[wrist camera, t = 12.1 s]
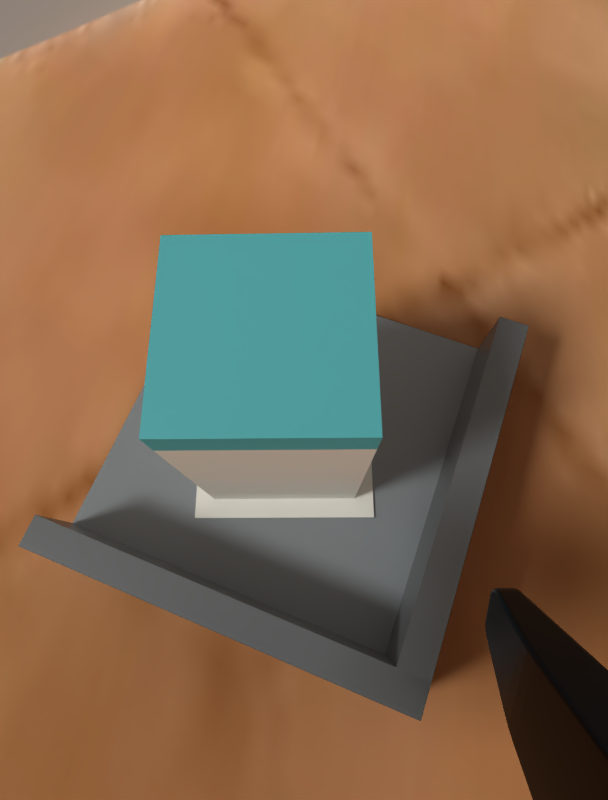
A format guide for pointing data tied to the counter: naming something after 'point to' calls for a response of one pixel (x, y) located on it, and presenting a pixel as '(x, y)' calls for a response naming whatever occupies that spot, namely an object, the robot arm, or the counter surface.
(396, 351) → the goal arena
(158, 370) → the white teal-lidded canister
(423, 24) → the counter surface
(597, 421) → the counter surface
